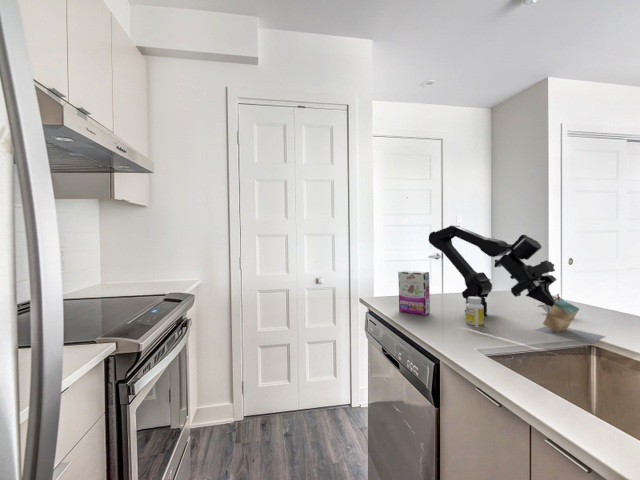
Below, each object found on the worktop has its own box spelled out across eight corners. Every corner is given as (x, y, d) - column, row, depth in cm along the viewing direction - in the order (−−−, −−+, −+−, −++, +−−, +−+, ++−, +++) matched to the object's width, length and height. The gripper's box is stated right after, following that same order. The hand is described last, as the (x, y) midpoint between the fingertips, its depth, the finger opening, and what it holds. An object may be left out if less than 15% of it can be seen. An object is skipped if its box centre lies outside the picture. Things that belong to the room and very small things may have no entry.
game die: (554, 324, 115) (563, 301, 117) (569, 322, 107) (579, 298, 109) (530, 311, 117) (539, 289, 119) (543, 309, 109) (553, 285, 111)
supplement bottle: (482, 324, 104) (482, 296, 104) (485, 329, 99) (485, 299, 99) (465, 323, 106) (464, 295, 106) (467, 328, 101) (466, 298, 101)
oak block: (542, 323, 96) (554, 302, 93) (551, 320, 99) (563, 300, 96) (557, 333, 93) (571, 311, 90) (566, 329, 96) (579, 308, 93)
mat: (535, 331, 96) (535, 329, 96) (550, 326, 101) (550, 324, 101) (592, 345, 84) (592, 343, 84) (605, 338, 89) (605, 336, 89)
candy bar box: (430, 313, 120) (430, 271, 120) (425, 316, 116) (425, 273, 116) (403, 309, 127) (403, 270, 127) (398, 311, 124) (397, 271, 123)
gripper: (520, 254, 95) (563, 295, 86) (548, 251, 105) (590, 287, 95) (495, 277, 102) (533, 316, 93) (524, 272, 111) (560, 308, 102)
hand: (555, 306), depth 95 cm, fingers closed
